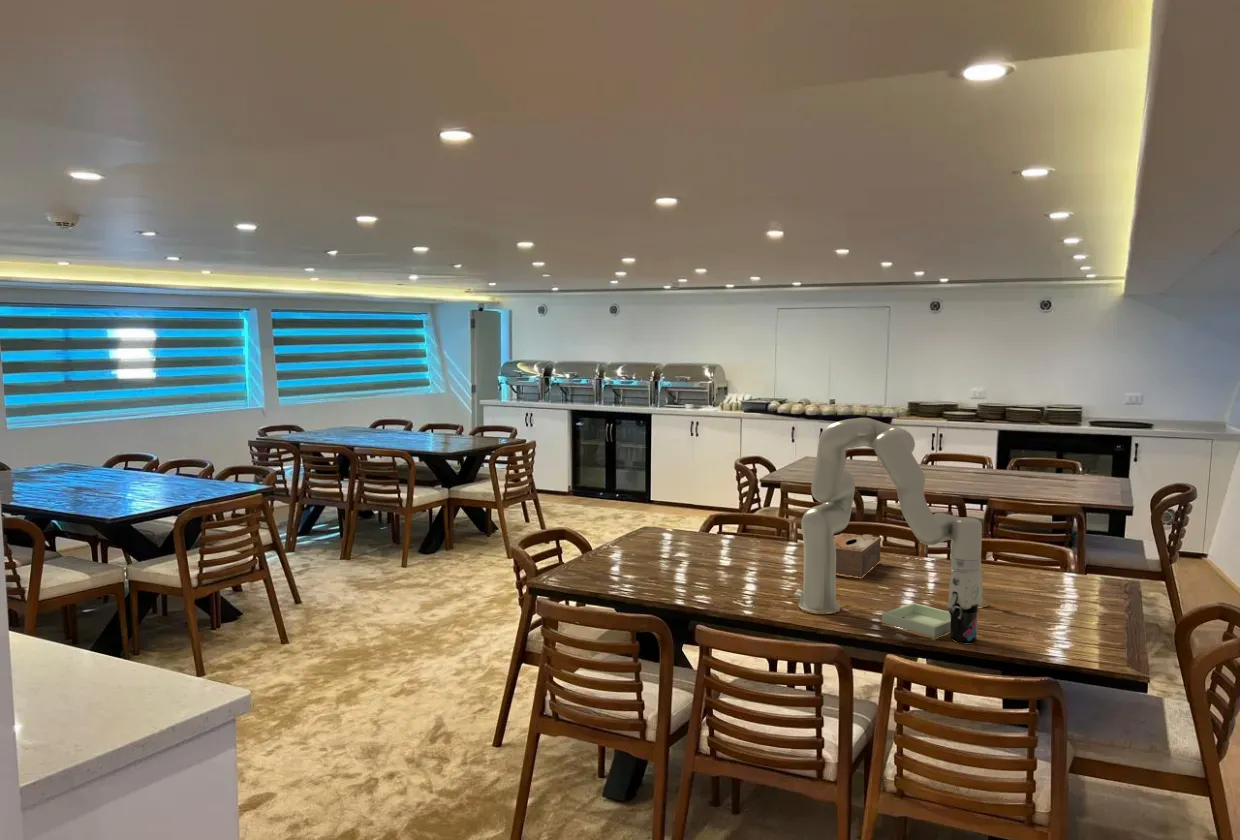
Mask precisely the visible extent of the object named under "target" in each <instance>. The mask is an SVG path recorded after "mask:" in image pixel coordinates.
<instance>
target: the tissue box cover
mask: <svg viewBox="0 0 1240 840" xmlns="http://www.w3.org/2000/svg"><path fill="white" fill-rule="evenodd" d="M833 538H834V542H835V546H836V573H839V574H845V575H852V576H858V577H862V576H863V575H864V574H866V573H867V572H868V571H869V570H870V569H871V568H872V567H874V566H875V565H876V564H877V563H878V562H879V561H880V562H881V541H882V539H881V537H879V536H872V535H862V534H854V533H853V534H852V533H845V532H844V533H842V532H841V533H840V534H838V535H837V536H836V537H833Z"/></svg>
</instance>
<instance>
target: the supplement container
mask: <svg viewBox="0 0 1240 840" xmlns="http://www.w3.org/2000/svg"><path fill="white" fill-rule="evenodd" d="M955 606H960V605H959V604H955ZM955 610H957V611H958V613H959V610H960V609H957V608H955ZM978 612H979V609H978V604H976V605H974V606H971V608H970V609H967V610H965V609H964V610H963V615H962V619H963V633H962V634H960V633H956V632H952V631H951V630H950V634H949V637H950V639H951V640H952V639H953V640H955V641H957V642H962V643H973V644H975V643H976V642H977V639H978ZM950 628H951V626H950ZM953 640H952V641H953ZM957 642H956V643H957ZM974 642H975V643H974Z"/></svg>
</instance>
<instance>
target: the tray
mask: <svg viewBox="0 0 1240 840" xmlns="http://www.w3.org/2000/svg"><path fill="white" fill-rule="evenodd" d="M902 617H905V618H902ZM882 622H883V623H886V624H889V625H893V626H896V627H900V628H903V629H907V630H910V631H913V632H917V633H919V634H923V635H926V636H929V637H932V638H934V639H935V638H937V637H939V636H941V635H944V634H946V633H948V632H950V626H951V617H950V613H949V610H942V609H939V608H935V607H931V606H927V605H924V604H920V603H916V602H911V603H908V604H905V605H903V606H900V607H896V608H894V609H891V610H888V611H886V612H883V613H882V615H881V623H882Z"/></svg>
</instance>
